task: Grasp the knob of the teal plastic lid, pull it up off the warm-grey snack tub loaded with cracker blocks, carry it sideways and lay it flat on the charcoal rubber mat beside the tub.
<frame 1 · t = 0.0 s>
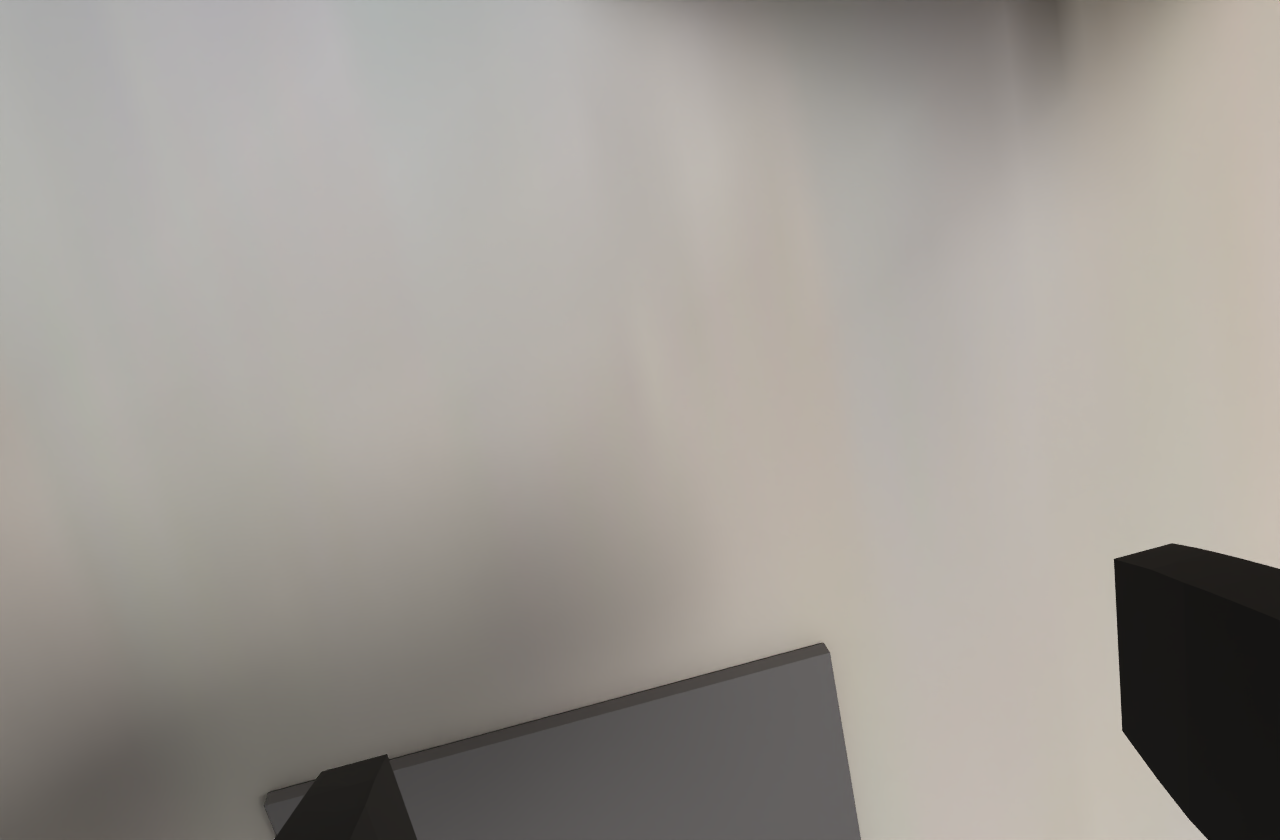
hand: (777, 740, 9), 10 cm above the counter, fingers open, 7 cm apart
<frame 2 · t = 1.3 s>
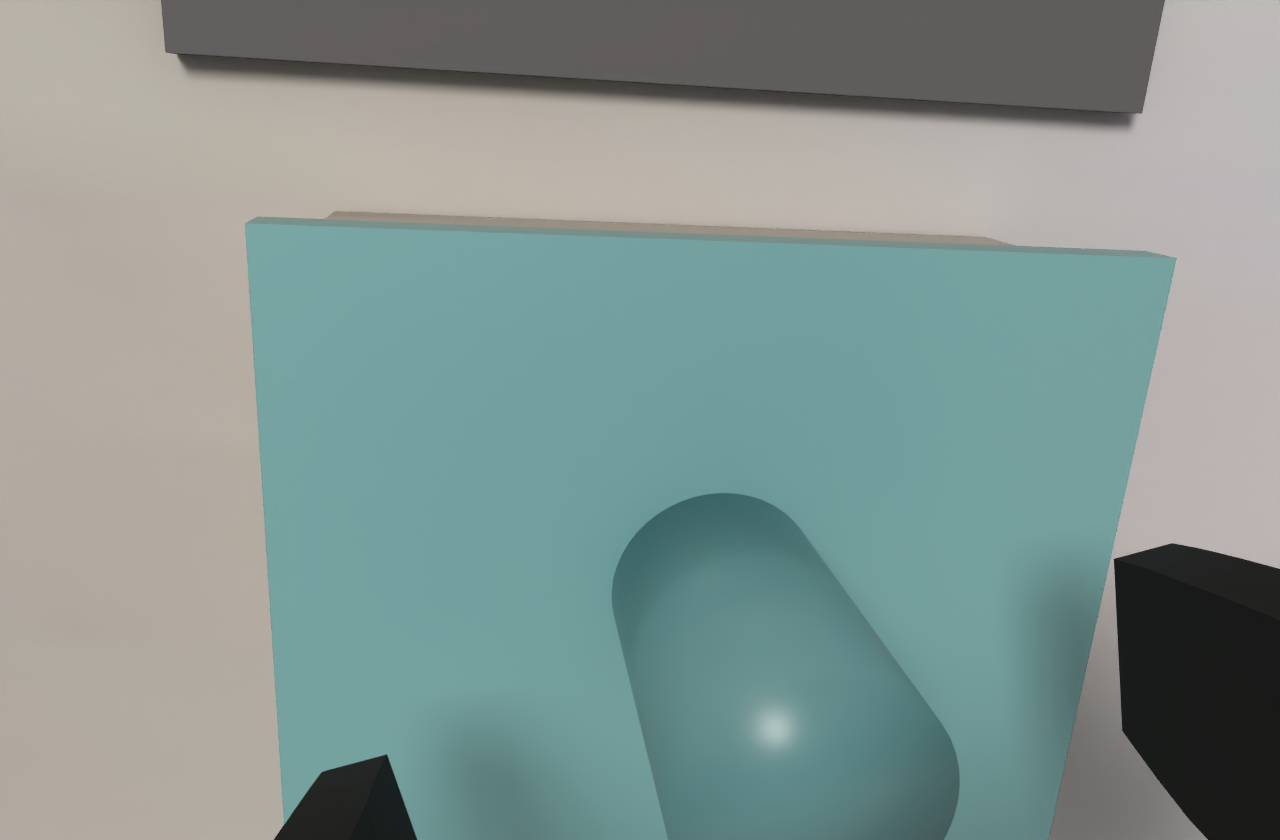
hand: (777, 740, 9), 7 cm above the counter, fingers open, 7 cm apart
lid: (705, 568, 13), point 3 cm above the counter, touching tub
tub: (660, 472, 16), on the counter
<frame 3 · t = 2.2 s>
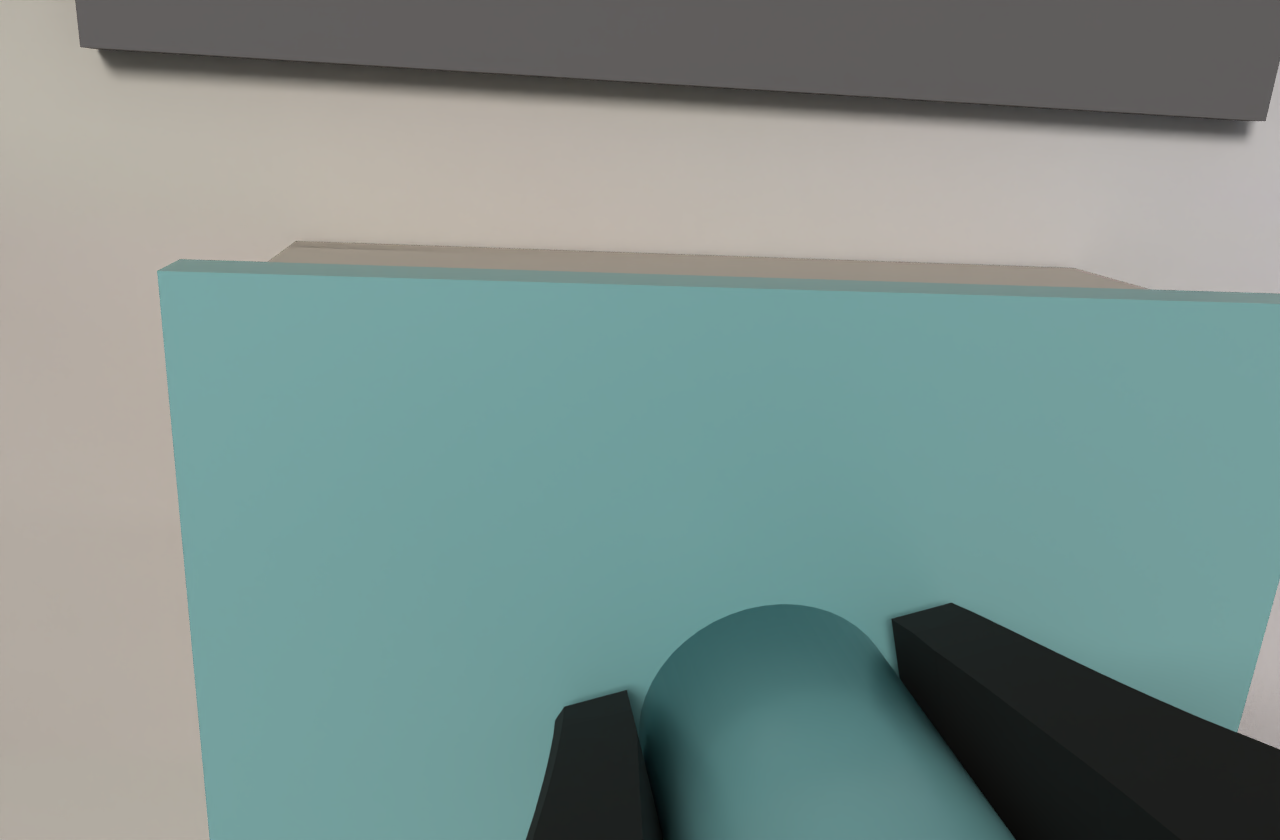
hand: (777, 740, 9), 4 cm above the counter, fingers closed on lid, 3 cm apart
lid: (752, 687, 10), point 3 cm above the counter, touching gripper, tub
tub: (687, 545, 14), on the counter
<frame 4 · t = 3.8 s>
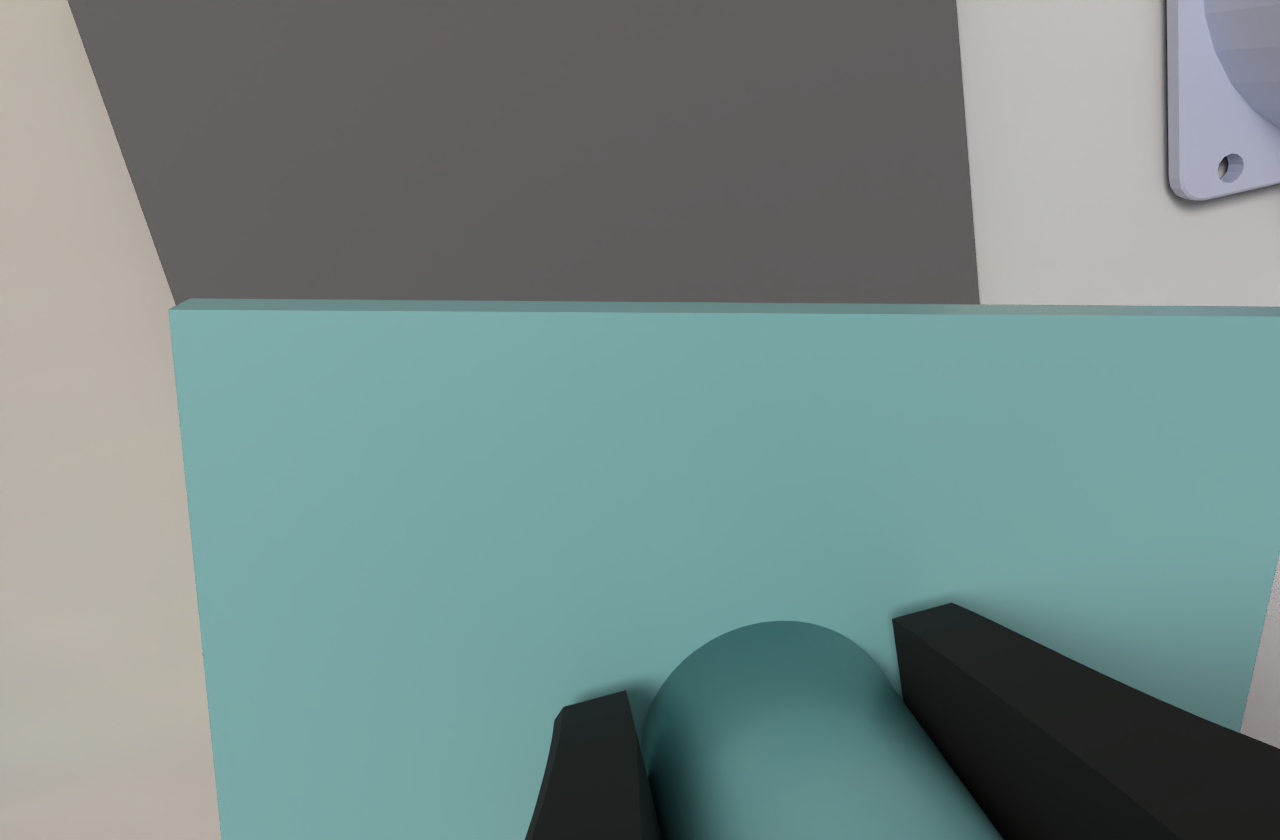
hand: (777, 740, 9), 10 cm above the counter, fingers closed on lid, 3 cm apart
mat: (595, 274, 18), on the counter
lid: (754, 705, 10), point 9 cm above the counter, touching gripper
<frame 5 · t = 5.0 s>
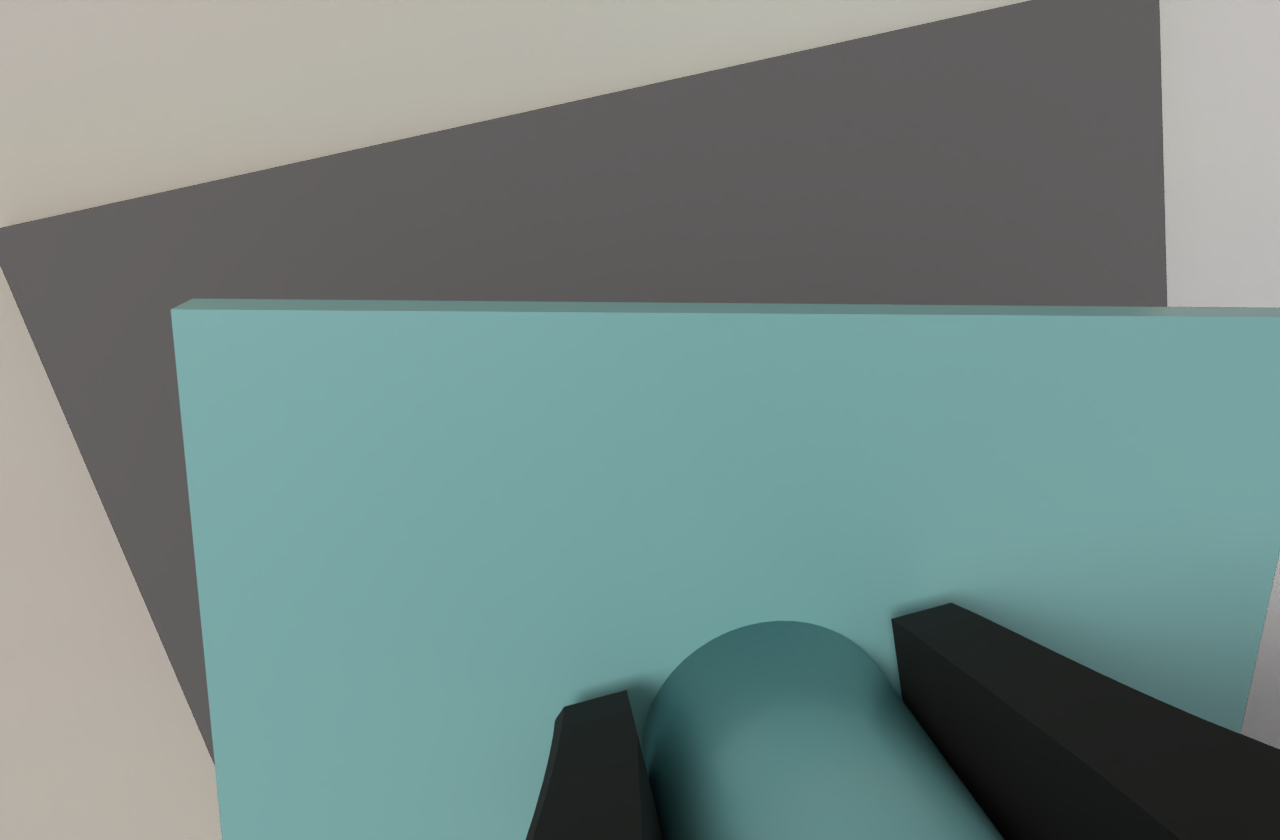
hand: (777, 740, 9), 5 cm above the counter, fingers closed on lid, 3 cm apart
mat: (688, 537, 14), on the counter
lid: (754, 705, 10), point 4 cm above the counter, touching gripper
when the fingers open (3 cm above the counter, at t = 5.6 s): lid stays where it is, resting on mat.
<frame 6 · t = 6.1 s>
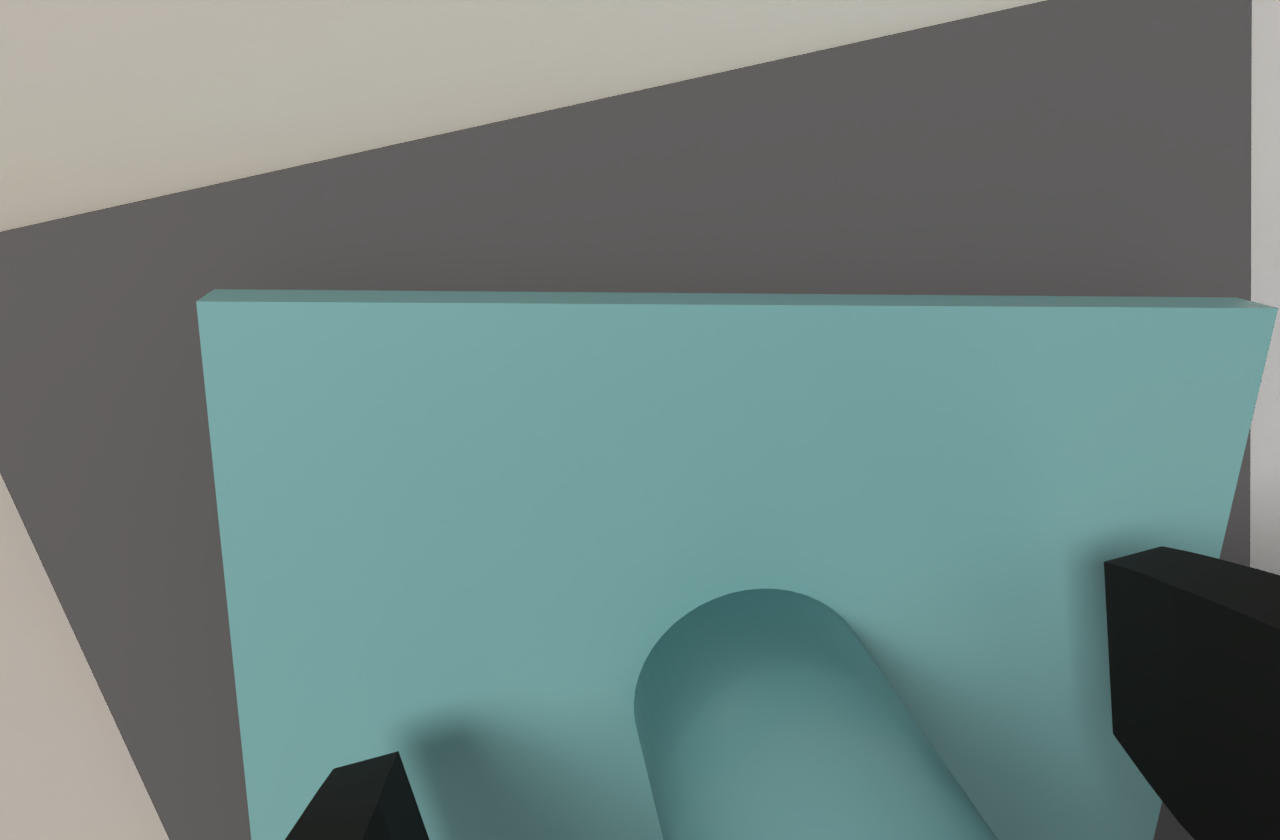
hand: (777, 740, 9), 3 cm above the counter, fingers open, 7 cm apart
mat: (709, 593, 12), on the counter
lid: (738, 666, 11), point 1 cm above the counter, touching mat
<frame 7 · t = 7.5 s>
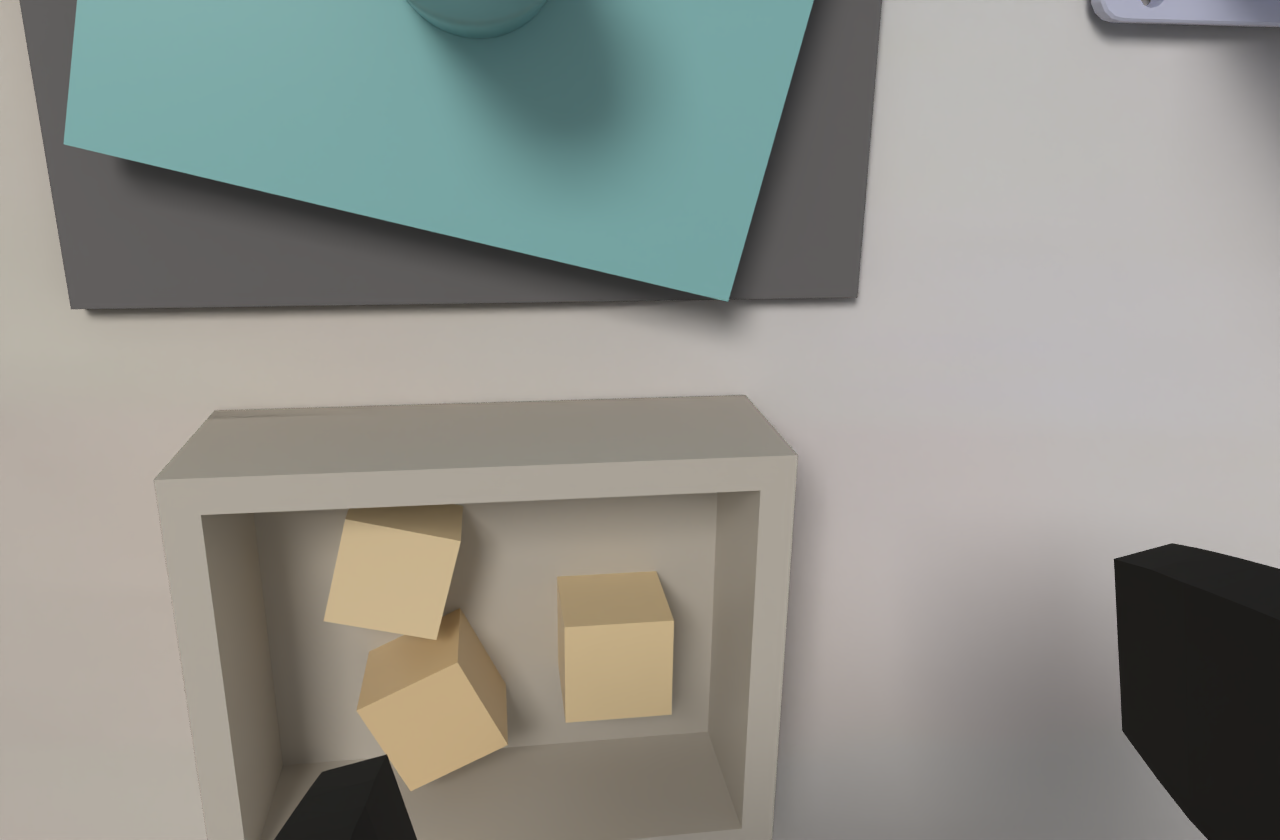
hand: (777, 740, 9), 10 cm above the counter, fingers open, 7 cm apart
tub: (496, 590, 20), on the counter
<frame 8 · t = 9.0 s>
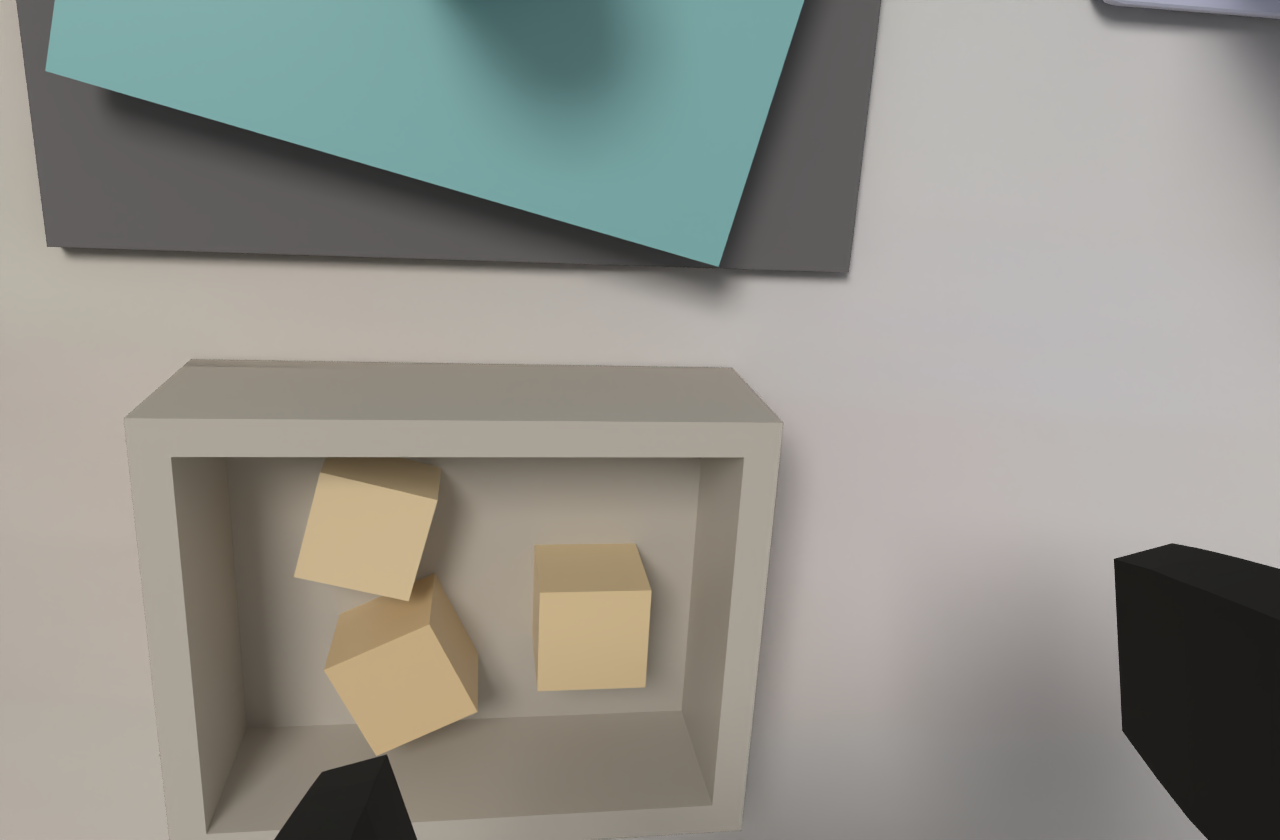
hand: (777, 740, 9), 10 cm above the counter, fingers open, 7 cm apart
tub: (472, 557, 20), on the counter
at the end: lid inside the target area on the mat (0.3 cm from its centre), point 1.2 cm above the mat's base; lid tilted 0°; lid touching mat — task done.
